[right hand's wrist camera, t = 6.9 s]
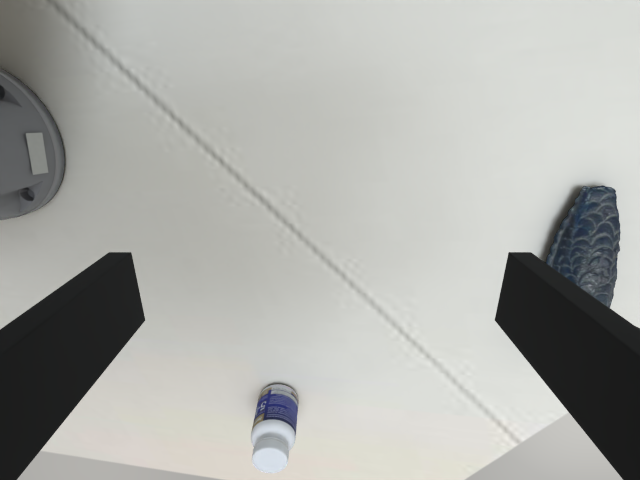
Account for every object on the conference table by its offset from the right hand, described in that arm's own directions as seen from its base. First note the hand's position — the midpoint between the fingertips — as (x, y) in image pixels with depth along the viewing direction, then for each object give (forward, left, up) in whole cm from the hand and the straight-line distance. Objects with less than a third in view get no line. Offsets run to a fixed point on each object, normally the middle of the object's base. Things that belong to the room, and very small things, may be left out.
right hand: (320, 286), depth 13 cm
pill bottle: (-5, -31, -26) cm, 40 cm away
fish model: (+29, -12, -26) cm, 40 cm away
